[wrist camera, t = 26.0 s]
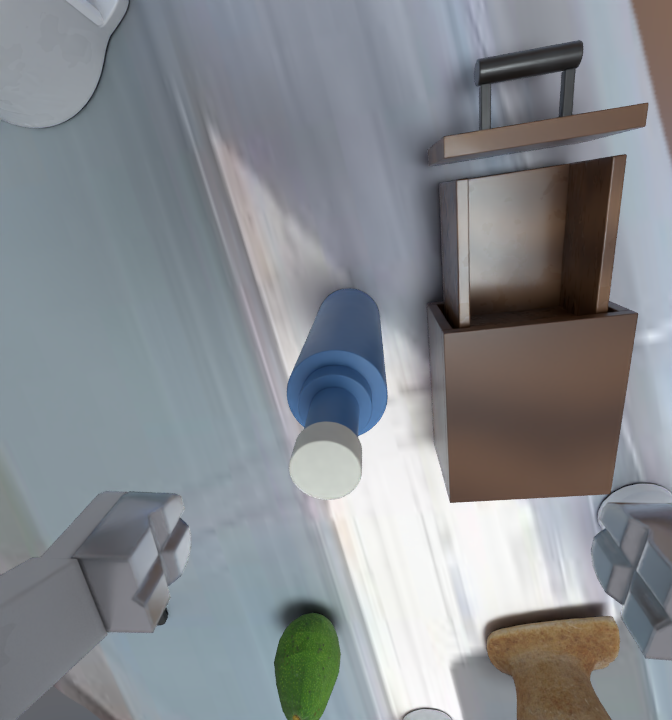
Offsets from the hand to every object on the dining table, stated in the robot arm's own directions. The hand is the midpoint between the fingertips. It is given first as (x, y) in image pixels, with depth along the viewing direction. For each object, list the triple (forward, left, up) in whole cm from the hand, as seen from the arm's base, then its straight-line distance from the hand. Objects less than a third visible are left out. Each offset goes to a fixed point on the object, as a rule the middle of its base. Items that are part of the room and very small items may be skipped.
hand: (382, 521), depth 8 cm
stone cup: (+50, +17, -29) cm, 61 cm away
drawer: (-4, +11, -28) cm, 30 cm away
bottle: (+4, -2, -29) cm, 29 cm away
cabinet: (+11, +11, -29) cm, 33 cm away
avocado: (+45, -13, -29) cm, 55 cm away
